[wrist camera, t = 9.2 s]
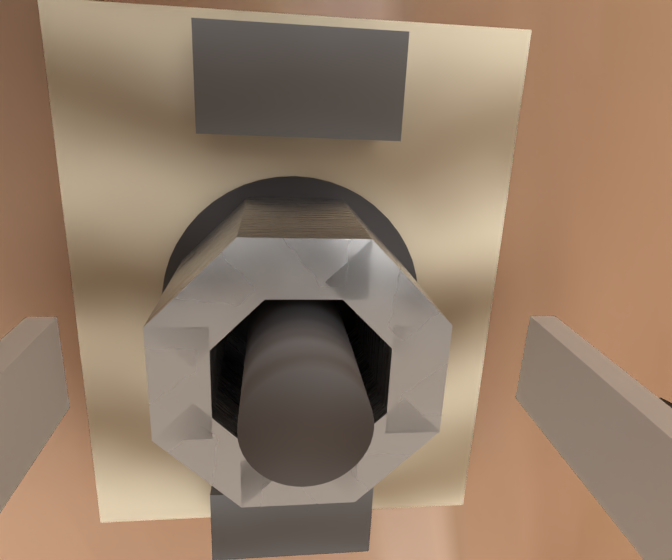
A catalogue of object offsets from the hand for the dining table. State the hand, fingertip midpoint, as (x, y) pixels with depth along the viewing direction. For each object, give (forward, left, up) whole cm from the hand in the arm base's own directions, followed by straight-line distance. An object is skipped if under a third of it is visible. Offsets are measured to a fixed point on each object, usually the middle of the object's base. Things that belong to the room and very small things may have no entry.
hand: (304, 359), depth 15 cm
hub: (0, 0, -5) cm, 5 cm away
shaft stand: (0, 0, -7) cm, 7 cm away
